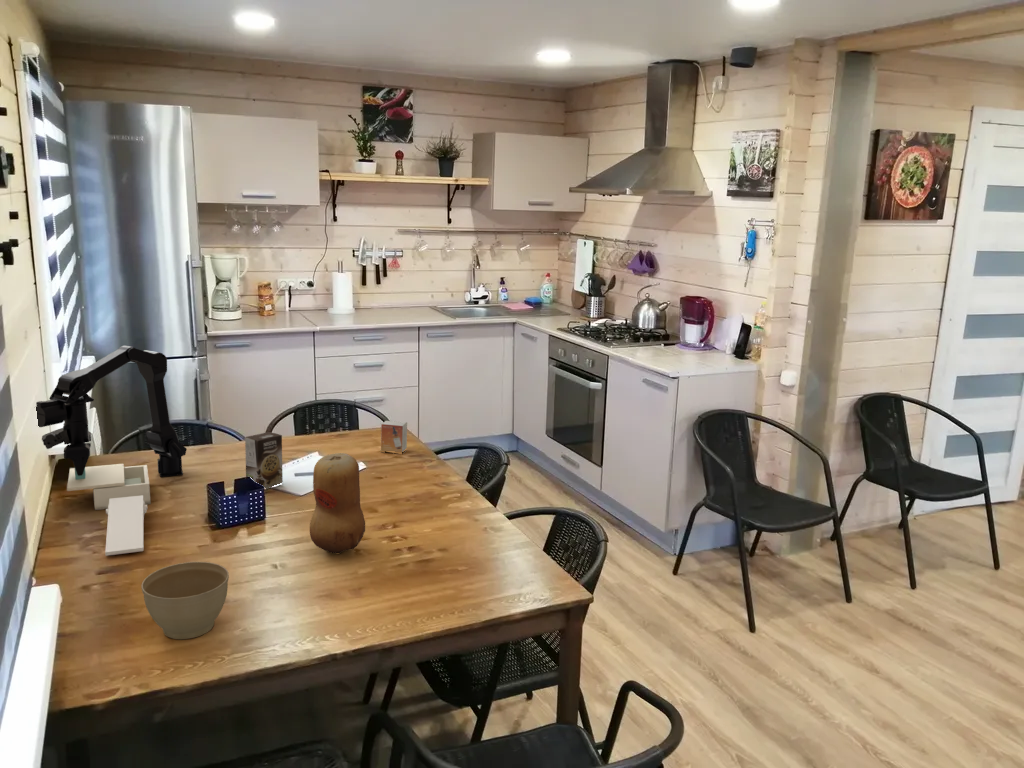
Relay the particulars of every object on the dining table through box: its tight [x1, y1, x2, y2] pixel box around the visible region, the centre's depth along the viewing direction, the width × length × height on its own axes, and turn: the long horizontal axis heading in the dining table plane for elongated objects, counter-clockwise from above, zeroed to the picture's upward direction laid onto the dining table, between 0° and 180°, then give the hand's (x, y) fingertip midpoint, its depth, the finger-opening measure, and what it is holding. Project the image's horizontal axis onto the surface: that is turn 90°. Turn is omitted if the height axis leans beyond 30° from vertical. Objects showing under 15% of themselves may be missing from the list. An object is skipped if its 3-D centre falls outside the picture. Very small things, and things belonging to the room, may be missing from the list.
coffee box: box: [244, 431, 284, 490], centre depth 243 cm, size 9×6×16 cm
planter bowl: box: [141, 561, 230, 640], centre depth 161 cm, size 16×16×11 cm
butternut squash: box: [309, 452, 366, 554], centre depth 198 cm, size 14×13×25 cm
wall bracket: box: [104, 495, 148, 557], centre depth 206 cm, size 10×7×28 cm
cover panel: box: [66, 463, 125, 492], centre depth 227 cm, size 14×18×6 cm
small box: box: [380, 420, 408, 452], centre depth 283 cm, size 8×6×10 cm
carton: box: [93, 464, 151, 511], centre depth 231 cm, size 14×18×6 cm
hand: (80, 473), depth 225 cm, fingers closed on cover panel, 4 cm apart
